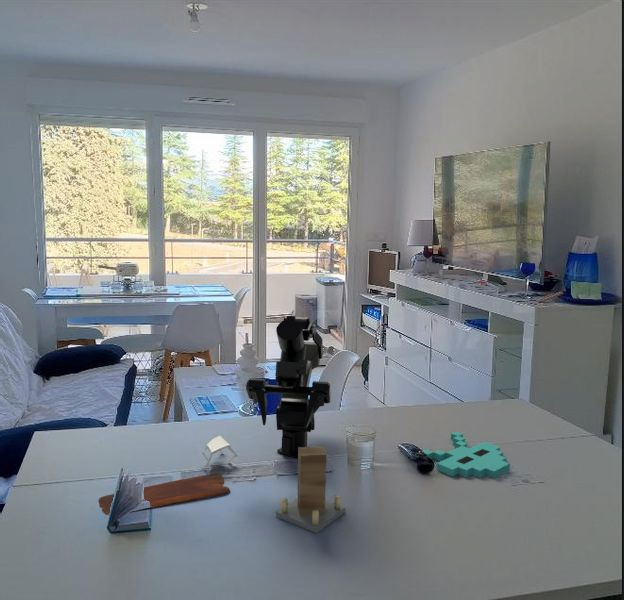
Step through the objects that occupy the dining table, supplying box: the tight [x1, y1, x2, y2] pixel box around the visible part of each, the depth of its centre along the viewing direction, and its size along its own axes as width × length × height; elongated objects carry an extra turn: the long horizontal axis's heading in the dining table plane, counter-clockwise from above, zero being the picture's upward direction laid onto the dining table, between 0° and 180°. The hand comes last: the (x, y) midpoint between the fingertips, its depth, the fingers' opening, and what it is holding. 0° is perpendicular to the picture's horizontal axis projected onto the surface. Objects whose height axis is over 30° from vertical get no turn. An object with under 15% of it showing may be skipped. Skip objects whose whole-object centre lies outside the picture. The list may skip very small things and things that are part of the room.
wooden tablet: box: [98, 473, 231, 516], centre depth 128 cm, size 27×10×2 cm, turn 114°
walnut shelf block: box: [297, 445, 327, 515], centre depth 120 cm, size 4×5×12 cm
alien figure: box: [422, 431, 511, 480], centre depth 148 cm, size 20×2×20 cm
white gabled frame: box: [201, 435, 239, 471], centre depth 145 cm, size 12×8×5 cm
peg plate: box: [275, 494, 346, 534], centre depth 121 cm, size 10×10×4 cm
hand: (284, 425), depth 132 cm, fingers open, 9 cm apart
